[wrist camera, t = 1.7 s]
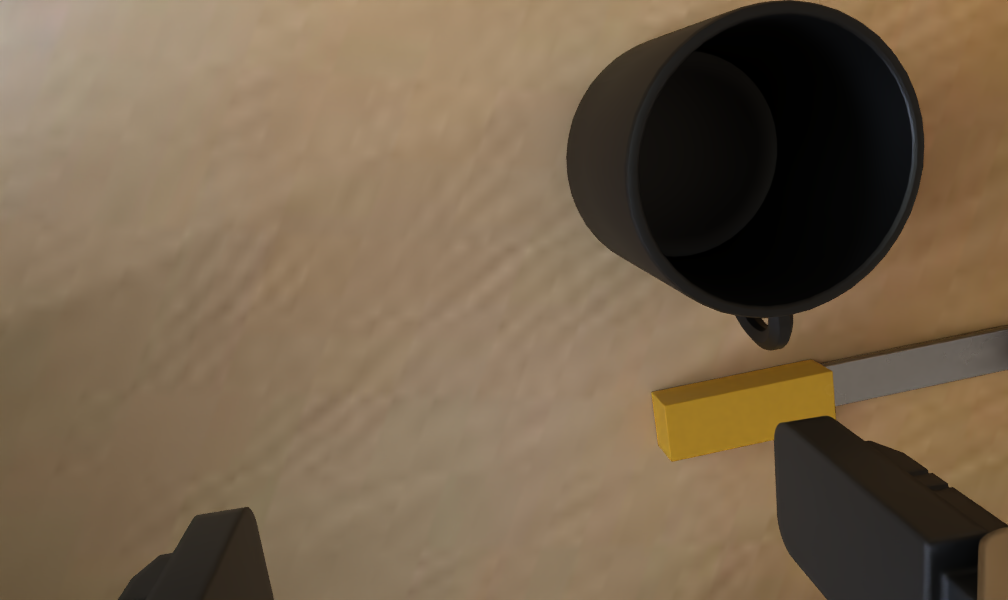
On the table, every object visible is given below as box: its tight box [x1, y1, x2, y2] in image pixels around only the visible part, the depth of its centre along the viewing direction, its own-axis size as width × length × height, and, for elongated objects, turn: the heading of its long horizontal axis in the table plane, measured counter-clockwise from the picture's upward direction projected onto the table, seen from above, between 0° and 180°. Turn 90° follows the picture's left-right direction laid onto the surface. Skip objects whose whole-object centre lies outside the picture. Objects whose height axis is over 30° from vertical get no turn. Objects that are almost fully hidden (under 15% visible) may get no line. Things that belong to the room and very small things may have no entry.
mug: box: [566, 0, 924, 350], centre depth 28 cm, size 9×12×9 cm
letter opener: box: [651, 325, 1008, 462], centre depth 34 cm, size 20×3×2 cm, turn 99°
